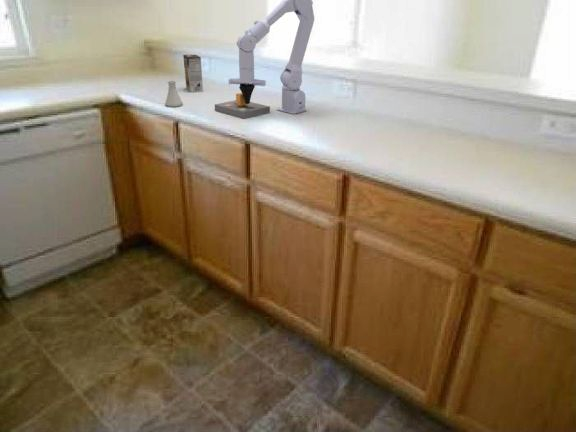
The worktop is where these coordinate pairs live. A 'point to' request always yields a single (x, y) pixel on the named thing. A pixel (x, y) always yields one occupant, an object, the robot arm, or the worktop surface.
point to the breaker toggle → (240, 99)
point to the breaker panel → (242, 109)
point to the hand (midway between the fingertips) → (247, 103)
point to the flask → (173, 96)
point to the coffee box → (193, 73)
